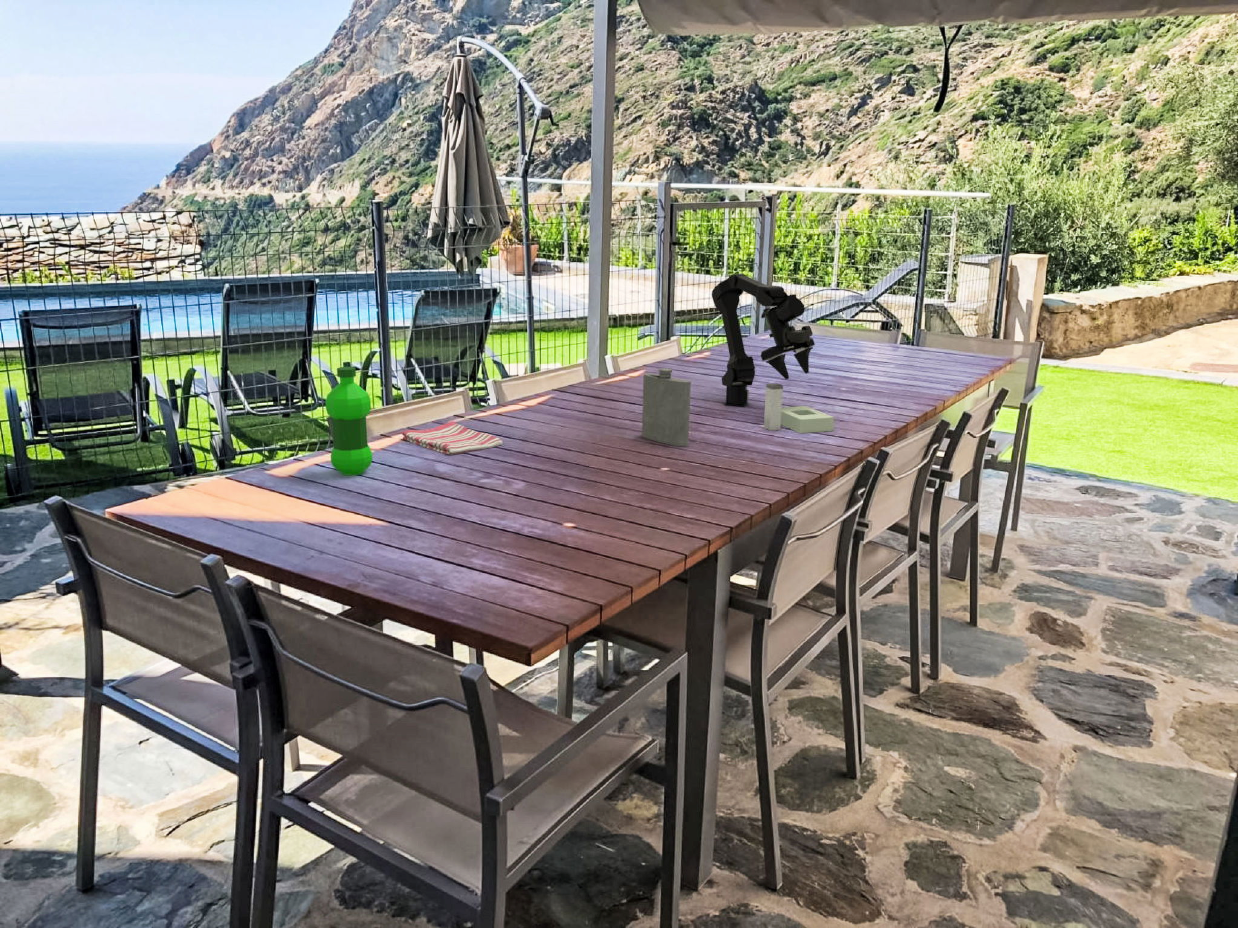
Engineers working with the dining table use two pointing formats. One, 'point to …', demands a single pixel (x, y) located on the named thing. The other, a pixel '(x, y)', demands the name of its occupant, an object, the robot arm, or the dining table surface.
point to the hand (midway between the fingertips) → (797, 376)
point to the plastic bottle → (349, 424)
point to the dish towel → (451, 439)
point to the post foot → (806, 419)
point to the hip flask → (666, 408)
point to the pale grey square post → (773, 406)
